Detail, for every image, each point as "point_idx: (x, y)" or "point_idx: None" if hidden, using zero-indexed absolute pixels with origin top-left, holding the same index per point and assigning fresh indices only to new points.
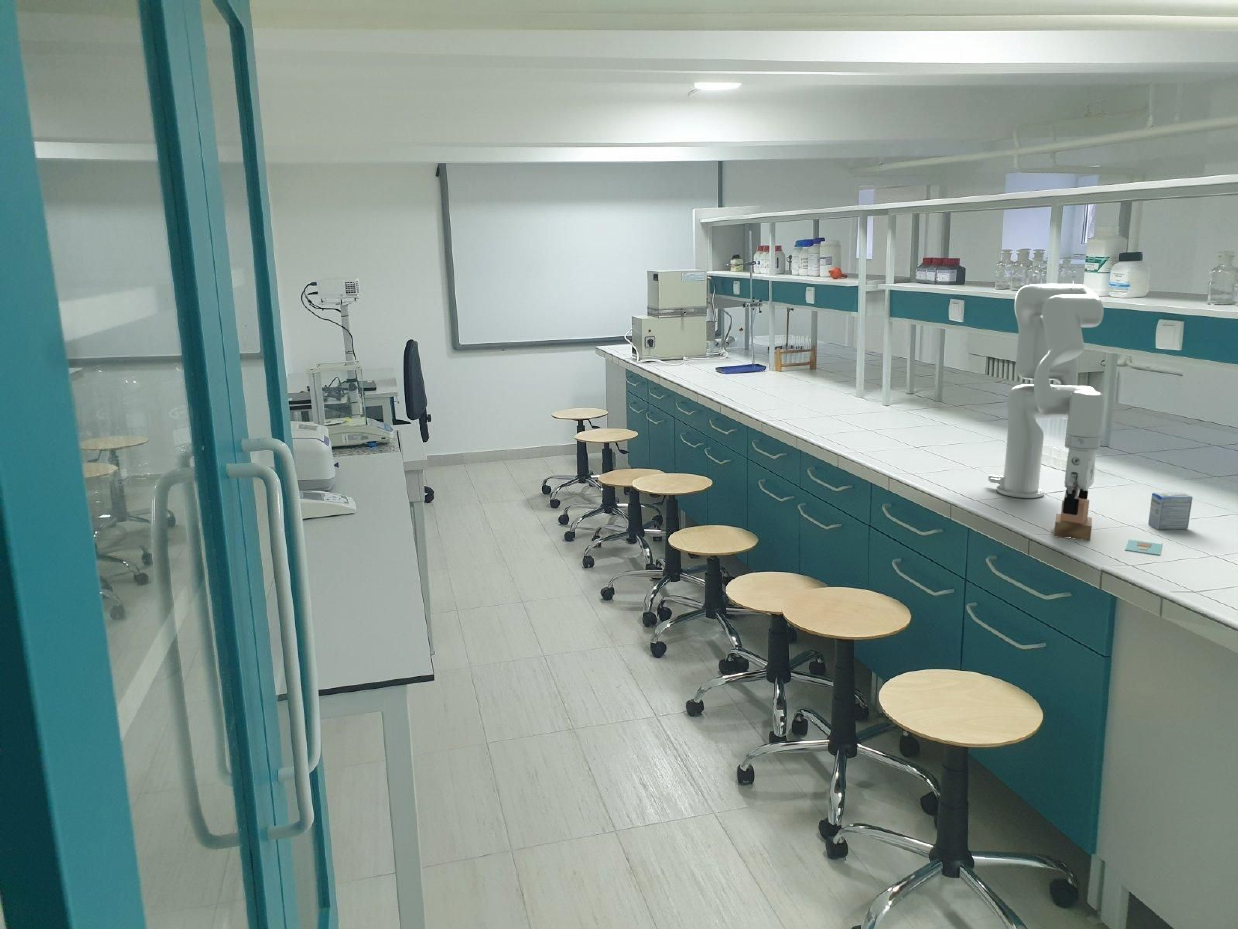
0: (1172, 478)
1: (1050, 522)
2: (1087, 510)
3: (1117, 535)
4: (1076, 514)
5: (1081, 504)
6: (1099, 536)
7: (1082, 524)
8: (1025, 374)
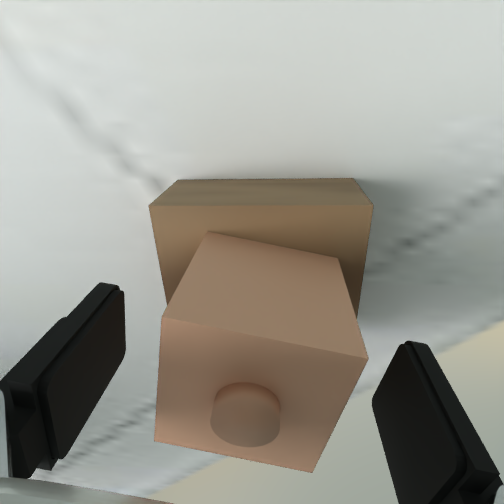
0: None
1: (130, 329)
2: (216, 268)
3: (172, 22)
4: (427, 346)
5: (358, 371)
6: (248, 131)
7: (350, 257)
8: None
